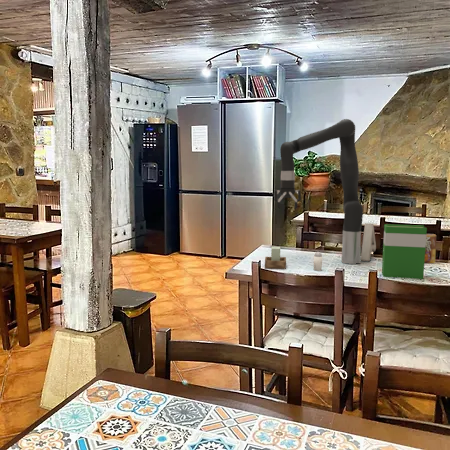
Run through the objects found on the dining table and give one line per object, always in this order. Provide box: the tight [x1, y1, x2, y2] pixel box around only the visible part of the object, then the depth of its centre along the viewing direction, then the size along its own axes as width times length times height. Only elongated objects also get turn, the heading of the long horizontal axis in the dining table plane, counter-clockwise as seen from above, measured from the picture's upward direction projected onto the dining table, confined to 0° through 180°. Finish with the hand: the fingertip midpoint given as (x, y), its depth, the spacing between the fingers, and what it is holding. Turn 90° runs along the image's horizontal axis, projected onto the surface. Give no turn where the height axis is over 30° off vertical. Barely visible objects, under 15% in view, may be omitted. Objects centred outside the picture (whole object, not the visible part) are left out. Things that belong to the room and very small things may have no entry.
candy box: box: [424, 233, 437, 264], centre depth 242 cm, size 9×4×15 cm, turn 81°
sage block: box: [270, 246, 281, 261], centre depth 232 cm, size 4×4×9 cm
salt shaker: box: [313, 251, 323, 272], centre depth 226 cm, size 4×4×9 cm
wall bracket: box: [360, 223, 377, 263], centre depth 260 cm, size 22×4×30 cm
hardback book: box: [381, 223, 428, 280], centre depth 214 cm, size 18×7×24 cm, turn 77°
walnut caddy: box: [264, 256, 287, 270], centre depth 232 cm, size 11×10×4 cm
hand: (287, 208), depth 248 cm, fingers open, 8 cm apart
